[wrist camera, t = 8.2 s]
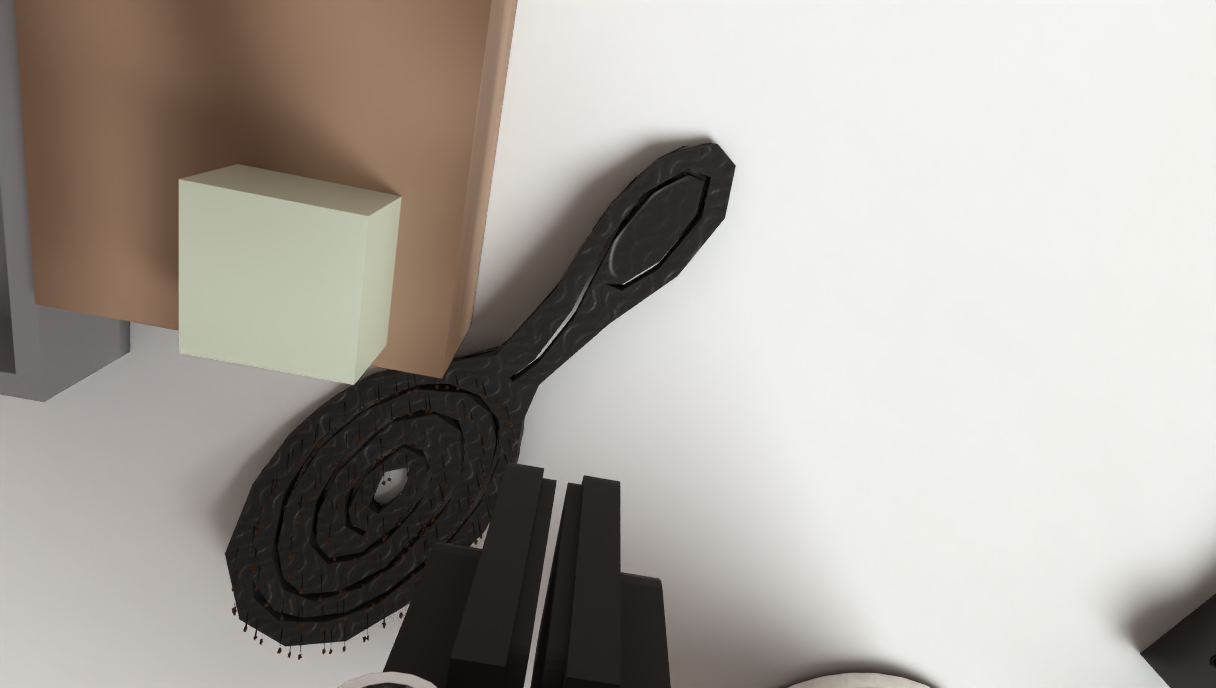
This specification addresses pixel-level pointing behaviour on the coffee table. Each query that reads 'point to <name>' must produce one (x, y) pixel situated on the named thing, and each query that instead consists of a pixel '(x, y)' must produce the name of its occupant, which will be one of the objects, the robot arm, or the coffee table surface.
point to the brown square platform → (260, 138)
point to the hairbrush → (444, 430)
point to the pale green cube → (285, 271)
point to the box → (3, 274)
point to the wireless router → (1188, 650)
